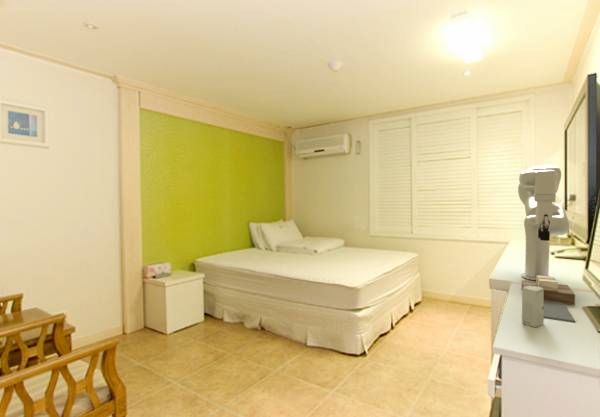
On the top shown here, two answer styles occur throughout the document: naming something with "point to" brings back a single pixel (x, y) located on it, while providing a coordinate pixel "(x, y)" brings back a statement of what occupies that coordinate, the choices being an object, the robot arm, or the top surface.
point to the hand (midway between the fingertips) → (543, 238)
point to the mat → (557, 311)
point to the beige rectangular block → (547, 283)
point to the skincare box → (532, 306)
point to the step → (555, 293)
